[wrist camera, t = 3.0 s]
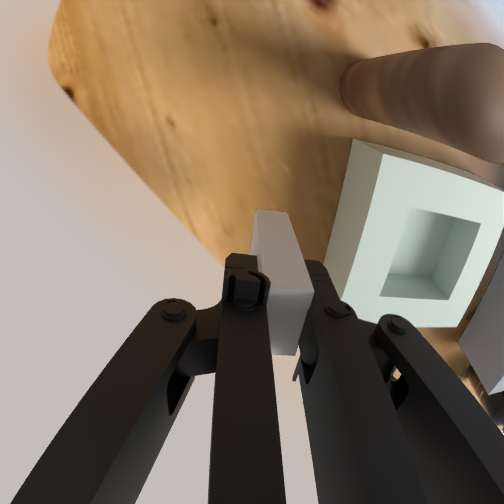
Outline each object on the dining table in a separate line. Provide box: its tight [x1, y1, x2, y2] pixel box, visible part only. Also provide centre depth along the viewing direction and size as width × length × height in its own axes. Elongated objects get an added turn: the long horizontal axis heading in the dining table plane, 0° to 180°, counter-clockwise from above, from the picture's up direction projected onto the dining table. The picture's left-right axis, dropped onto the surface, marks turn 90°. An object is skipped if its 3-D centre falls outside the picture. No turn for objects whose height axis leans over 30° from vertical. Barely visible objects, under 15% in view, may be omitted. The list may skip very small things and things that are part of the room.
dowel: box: [340, 43, 504, 164], centre depth 12 cm, size 4×4×12 cm
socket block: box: [323, 139, 504, 327], centre depth 20 cm, size 11×11×5 cm
